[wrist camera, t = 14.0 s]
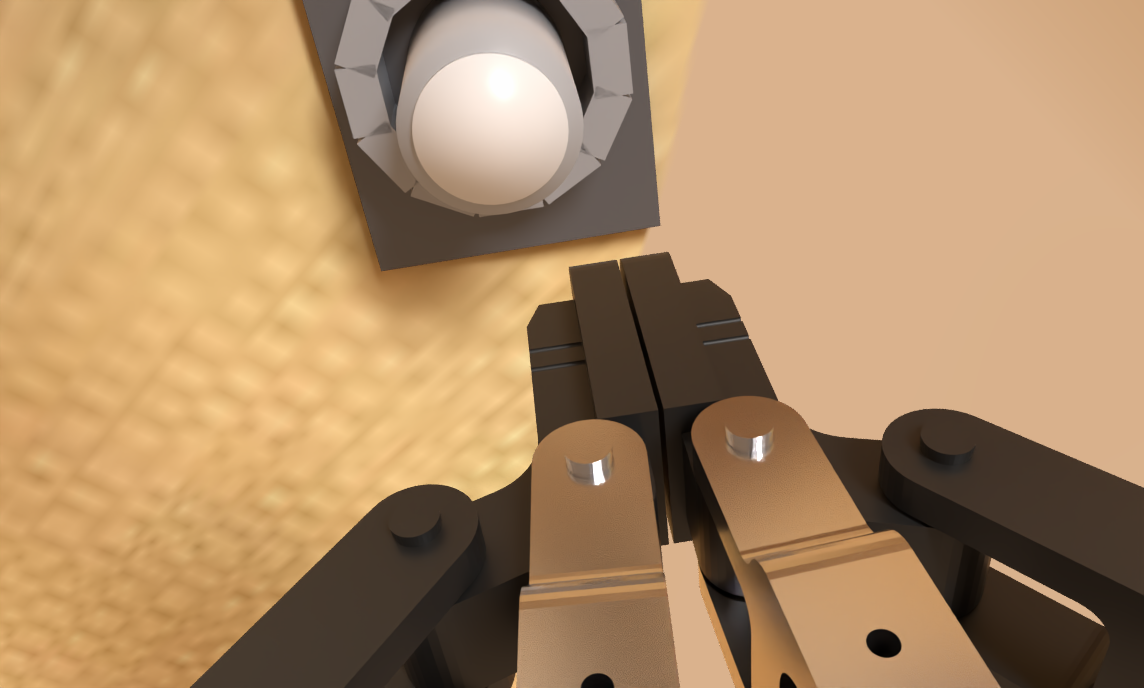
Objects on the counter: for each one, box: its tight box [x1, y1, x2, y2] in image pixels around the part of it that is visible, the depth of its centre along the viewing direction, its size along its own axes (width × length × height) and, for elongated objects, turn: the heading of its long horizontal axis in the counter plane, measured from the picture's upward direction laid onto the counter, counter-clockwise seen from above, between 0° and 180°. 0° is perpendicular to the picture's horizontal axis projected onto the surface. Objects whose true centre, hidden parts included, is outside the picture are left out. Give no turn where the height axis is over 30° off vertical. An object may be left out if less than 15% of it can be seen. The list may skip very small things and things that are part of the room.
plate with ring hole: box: [303, 0, 660, 271], centre depth 33 cm, size 16×12×3 cm
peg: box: [396, 0, 584, 215], centre depth 31 cm, size 6×6×7 cm
